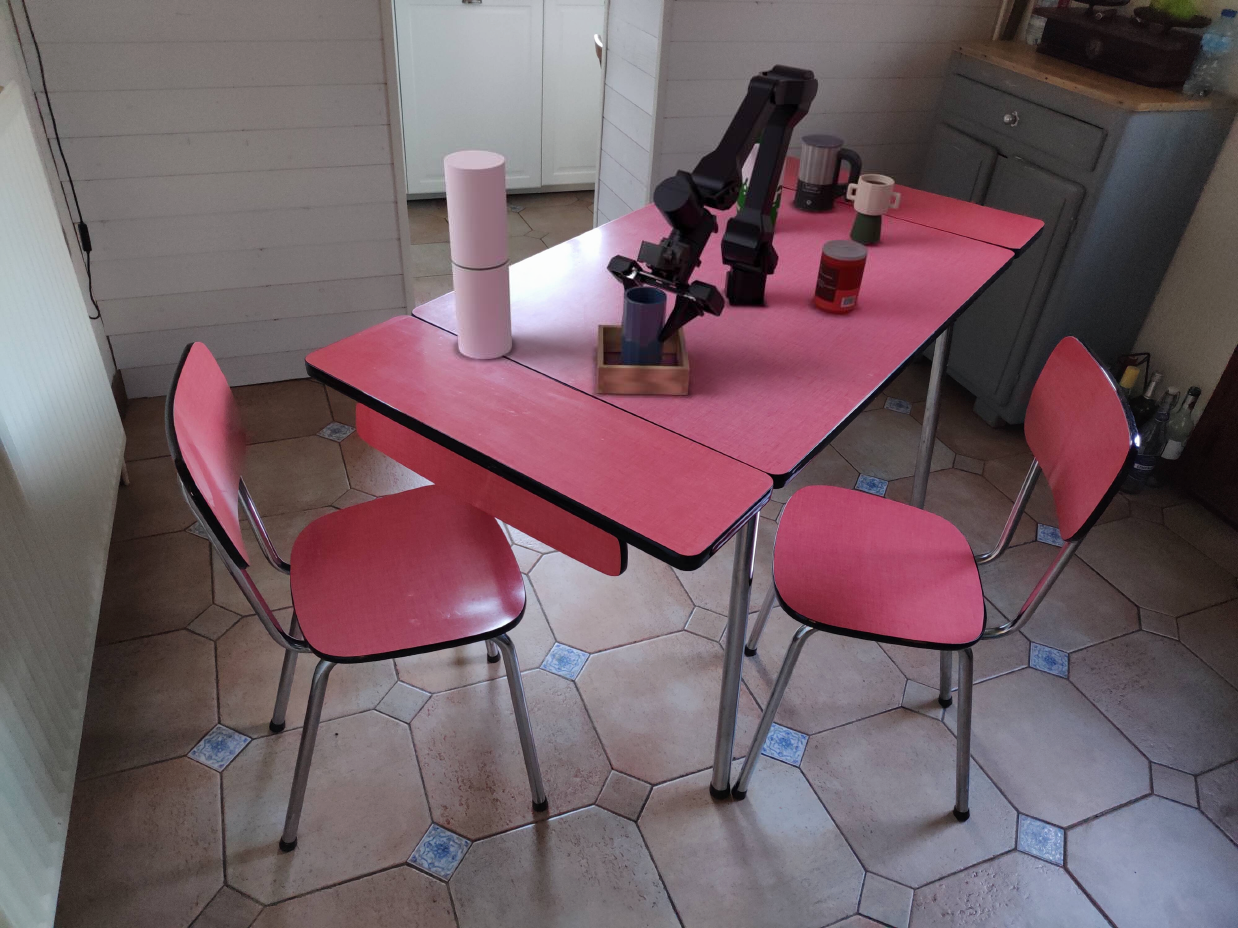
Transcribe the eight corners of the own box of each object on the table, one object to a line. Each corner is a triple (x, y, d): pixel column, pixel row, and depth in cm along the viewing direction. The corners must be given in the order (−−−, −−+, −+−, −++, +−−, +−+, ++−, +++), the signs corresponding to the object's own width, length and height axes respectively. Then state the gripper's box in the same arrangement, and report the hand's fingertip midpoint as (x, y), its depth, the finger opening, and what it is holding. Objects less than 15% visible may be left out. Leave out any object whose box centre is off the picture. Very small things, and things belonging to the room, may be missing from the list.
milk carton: (732, 217, 195) (743, 123, 183) (773, 219, 195) (786, 125, 183) (735, 232, 187) (747, 135, 176) (778, 234, 188) (792, 137, 176)
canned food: (860, 301, 162) (872, 244, 156) (850, 319, 156) (862, 260, 150) (819, 292, 165) (829, 236, 158) (807, 309, 159) (818, 251, 152)
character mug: (894, 241, 187) (908, 180, 179) (884, 252, 182) (899, 189, 174) (844, 230, 191) (855, 169, 183) (833, 241, 186) (845, 179, 178)
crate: (680, 351, 145) (682, 326, 142) (687, 395, 134) (689, 369, 131) (597, 349, 145) (598, 324, 142) (597, 393, 134) (598, 367, 131)
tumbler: (660, 361, 142) (665, 286, 134) (662, 382, 137) (668, 305, 129) (620, 360, 142) (623, 285, 134) (620, 381, 137) (624, 304, 129)
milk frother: (791, 211, 199) (801, 143, 190) (792, 188, 212) (802, 123, 203) (855, 217, 197) (869, 149, 189) (852, 193, 210) (865, 129, 201)
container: (460, 333, 147) (446, 150, 129) (512, 333, 148) (505, 150, 130) (456, 359, 140) (441, 169, 123) (511, 359, 141) (504, 169, 123)
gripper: (615, 203, 133) (570, 295, 132) (723, 234, 125) (675, 333, 124) (642, 238, 143) (600, 324, 142) (744, 269, 135) (699, 361, 134)
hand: (641, 334), depth 135 cm, fingers closed on tumbler, 6 cm apart
